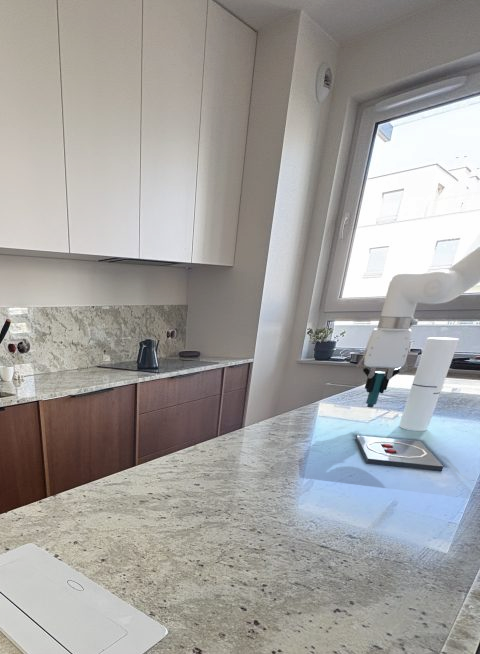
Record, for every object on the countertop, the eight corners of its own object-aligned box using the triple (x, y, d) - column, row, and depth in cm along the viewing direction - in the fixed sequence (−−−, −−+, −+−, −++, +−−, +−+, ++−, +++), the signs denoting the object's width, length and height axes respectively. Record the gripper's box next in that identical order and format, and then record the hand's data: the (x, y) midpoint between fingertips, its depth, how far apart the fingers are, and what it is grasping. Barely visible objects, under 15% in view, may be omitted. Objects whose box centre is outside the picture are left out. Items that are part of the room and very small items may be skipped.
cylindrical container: (394, 423, 131) (422, 337, 119) (420, 424, 129) (450, 337, 118) (404, 430, 124) (434, 339, 113) (432, 431, 123) (465, 339, 112)
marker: (374, 406, 127) (384, 371, 122) (375, 408, 125) (386, 373, 120) (364, 405, 128) (374, 371, 123) (365, 407, 126) (375, 372, 121)
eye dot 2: (392, 453, 105) (394, 449, 105) (394, 456, 104) (395, 451, 103) (384, 453, 106) (386, 448, 105) (385, 455, 104) (387, 450, 104)
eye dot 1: (389, 448, 109) (390, 444, 108) (390, 450, 107) (392, 446, 107) (381, 447, 110) (382, 443, 109) (382, 449, 108) (384, 445, 108)
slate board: (419, 445, 112) (420, 440, 111) (441, 471, 96) (443, 466, 95) (355, 439, 117) (356, 435, 117) (366, 463, 101) (367, 458, 100)
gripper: (425, 323, 116) (403, 391, 124) (359, 322, 121) (342, 387, 130) (433, 325, 110) (409, 396, 118) (362, 324, 115) (345, 392, 124)
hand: (374, 391), depth 124 cm, fingers closed on marker, 2 cm apart
